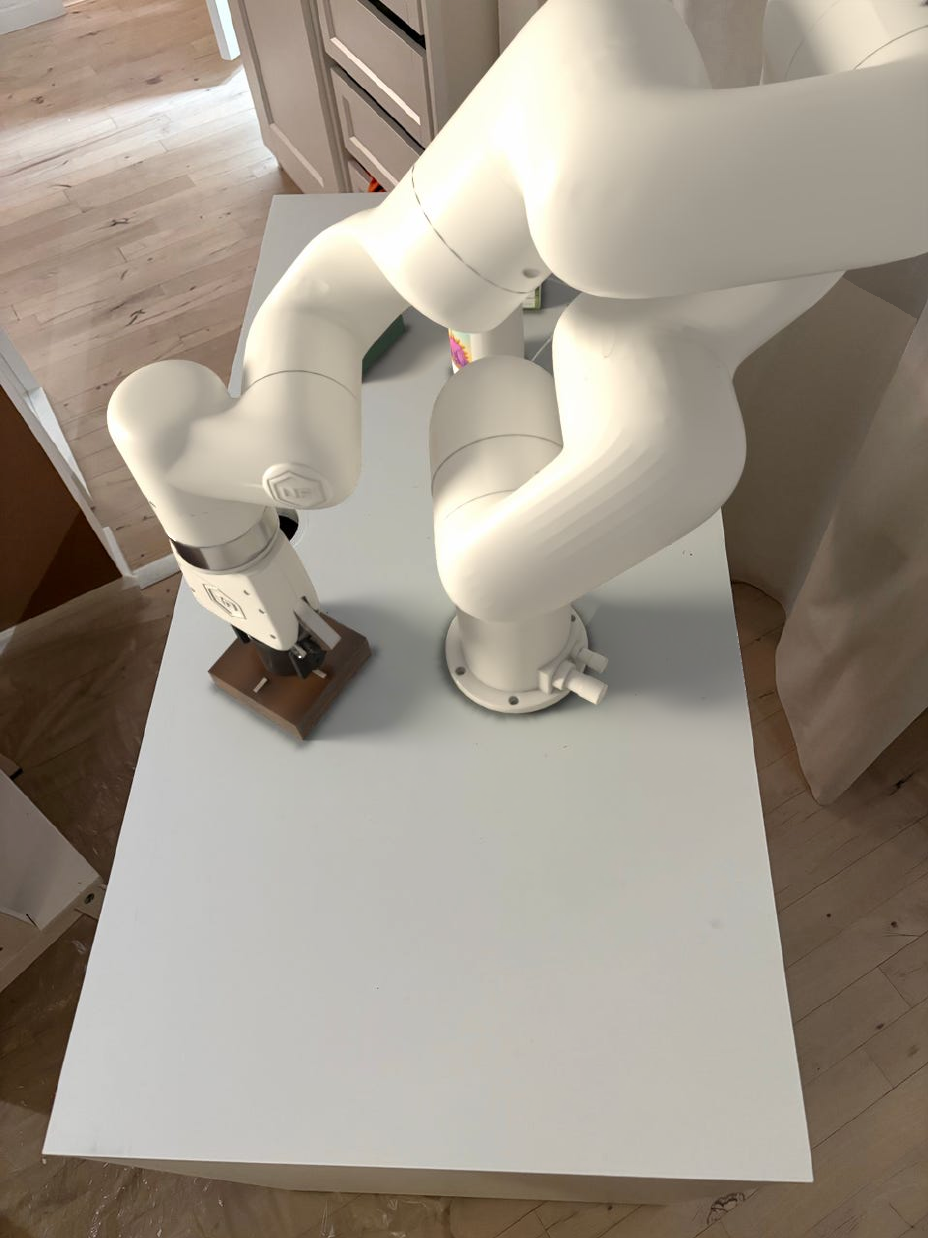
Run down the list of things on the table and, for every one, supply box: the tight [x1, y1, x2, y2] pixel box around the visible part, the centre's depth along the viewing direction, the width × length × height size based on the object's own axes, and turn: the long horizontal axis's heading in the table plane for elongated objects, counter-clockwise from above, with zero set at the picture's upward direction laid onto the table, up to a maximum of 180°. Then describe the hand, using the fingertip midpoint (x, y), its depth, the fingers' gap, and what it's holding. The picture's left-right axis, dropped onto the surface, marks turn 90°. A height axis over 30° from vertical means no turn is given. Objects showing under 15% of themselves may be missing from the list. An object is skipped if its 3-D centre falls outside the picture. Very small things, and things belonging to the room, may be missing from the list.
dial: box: [247, 626, 305, 676], centre depth 80 cm, size 4×4×6 cm
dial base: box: [207, 611, 372, 741], centre depth 84 cm, size 10×10×3 cm
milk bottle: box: [447, 303, 525, 374], centre depth 95 cm, size 8×8×20 cm
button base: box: [362, 313, 406, 376], centre depth 106 cm, size 10×10×4 cm
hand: (283, 646), depth 82 cm, fingers open, 5 cm apart
